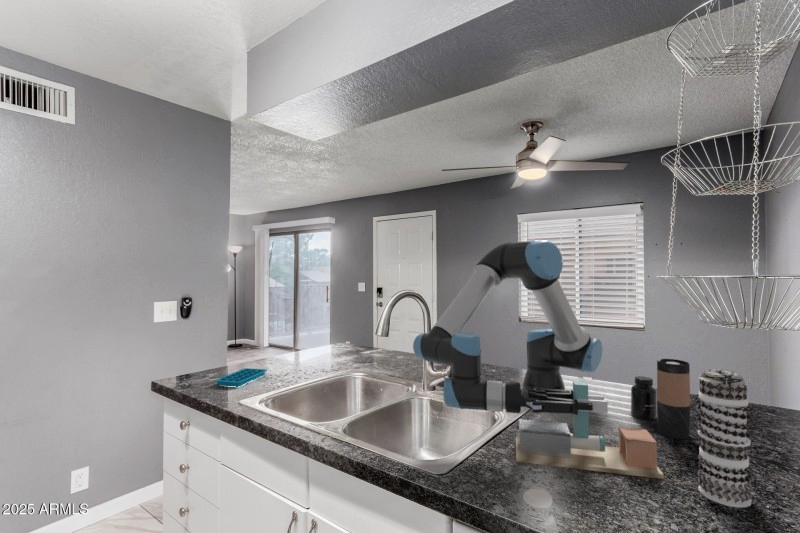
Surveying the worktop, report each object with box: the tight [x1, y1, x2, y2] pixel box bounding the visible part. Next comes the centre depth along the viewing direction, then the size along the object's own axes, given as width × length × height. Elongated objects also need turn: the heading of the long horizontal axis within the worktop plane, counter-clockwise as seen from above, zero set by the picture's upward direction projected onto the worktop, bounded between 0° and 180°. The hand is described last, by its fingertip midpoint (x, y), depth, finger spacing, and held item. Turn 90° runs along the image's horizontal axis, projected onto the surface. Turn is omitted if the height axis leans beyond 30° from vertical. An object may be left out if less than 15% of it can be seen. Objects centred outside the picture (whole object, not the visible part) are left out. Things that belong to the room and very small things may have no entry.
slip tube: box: [570, 380, 606, 452], centre depth 98 cm, size 16×4×16 cm, turn 74°
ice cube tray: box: [214, 367, 268, 387], centre depth 167 cm, size 12×20×3 cm, turn 166°
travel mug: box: [656, 358, 691, 440], centre depth 111 cm, size 8×8×20 cm
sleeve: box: [518, 418, 571, 459], centre depth 100 cm, size 12×7×6 cm, turn 74°
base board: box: [515, 436, 664, 480], centre depth 97 cm, size 31×12×1 cm, turn 74°
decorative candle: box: [694, 368, 754, 509], centre depth 81 cm, size 9×9×25 cm
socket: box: [618, 426, 658, 469], centre depth 94 cm, size 6×7×6 cm
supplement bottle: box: [630, 375, 658, 421], centre depth 124 cm, size 7×7×12 cm
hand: (605, 404), depth 96 cm, fingers closed on slip tube, 3 cm apart
